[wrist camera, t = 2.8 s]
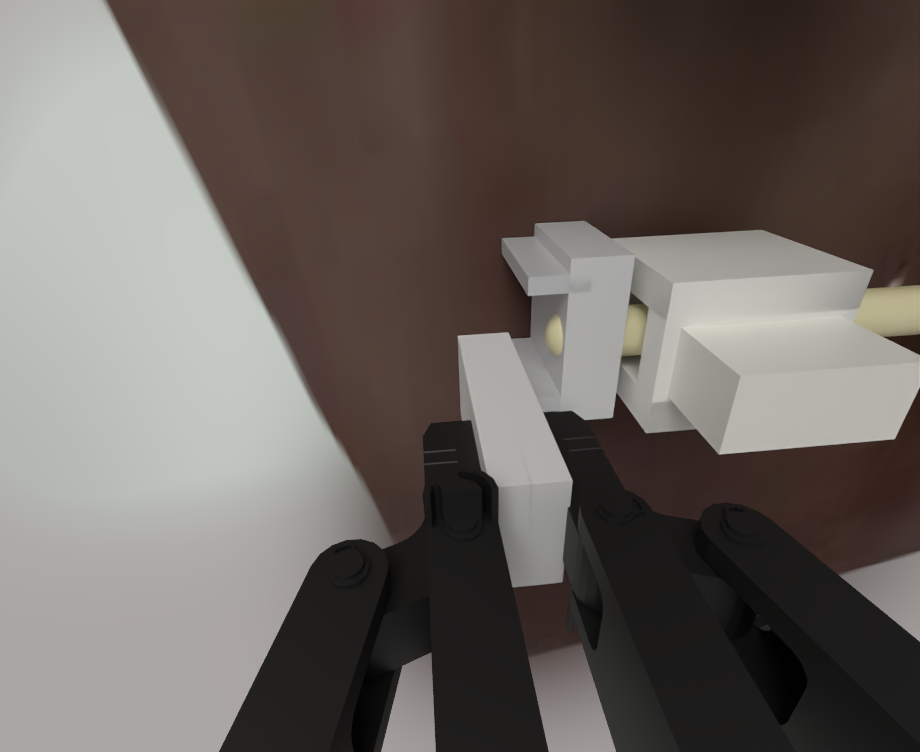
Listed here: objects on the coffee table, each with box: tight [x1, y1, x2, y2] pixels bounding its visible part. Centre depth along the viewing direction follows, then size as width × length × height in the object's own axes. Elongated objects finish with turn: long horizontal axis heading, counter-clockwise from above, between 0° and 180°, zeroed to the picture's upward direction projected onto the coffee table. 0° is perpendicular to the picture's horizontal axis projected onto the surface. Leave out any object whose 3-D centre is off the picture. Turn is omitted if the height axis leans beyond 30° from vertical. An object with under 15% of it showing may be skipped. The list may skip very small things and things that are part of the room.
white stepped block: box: [613, 230, 920, 455], centre depth 16 cm, size 5×6×8 cm
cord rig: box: [502, 221, 920, 420], centre depth 19 cm, size 6×27×6 cm, turn 92°
